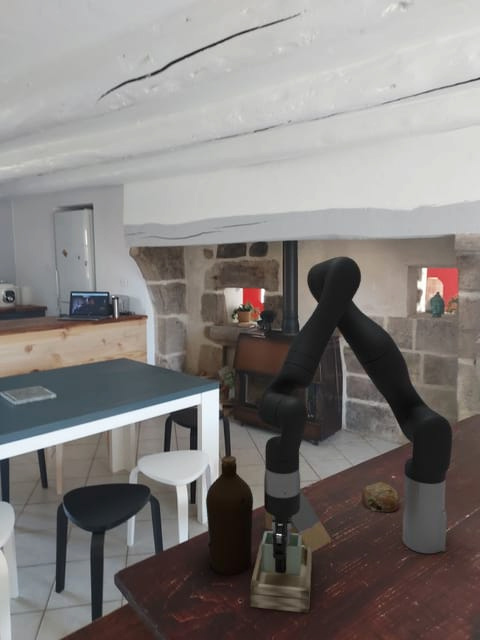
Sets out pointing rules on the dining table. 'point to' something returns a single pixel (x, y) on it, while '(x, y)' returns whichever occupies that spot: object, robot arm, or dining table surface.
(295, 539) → the box
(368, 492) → the bread roll
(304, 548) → the big crate
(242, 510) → the olive oil
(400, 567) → the dining table surface
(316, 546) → the sandwich container
